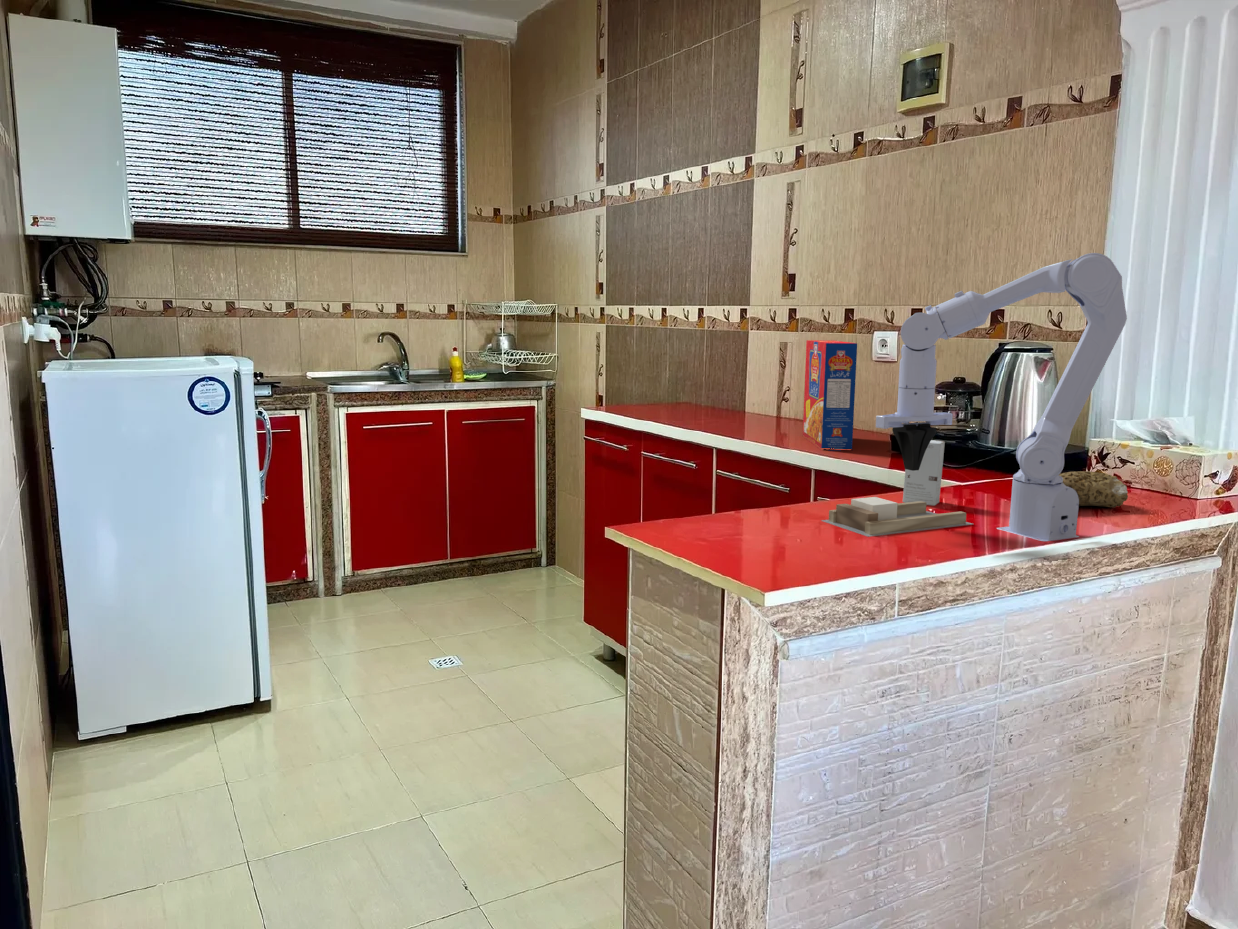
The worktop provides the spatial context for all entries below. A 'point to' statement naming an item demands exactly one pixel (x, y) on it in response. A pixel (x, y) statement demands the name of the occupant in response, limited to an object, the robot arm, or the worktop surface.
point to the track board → (897, 531)
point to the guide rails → (872, 525)
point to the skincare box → (926, 476)
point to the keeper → (877, 507)
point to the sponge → (1096, 488)
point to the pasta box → (829, 393)
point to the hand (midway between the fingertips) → (911, 469)
